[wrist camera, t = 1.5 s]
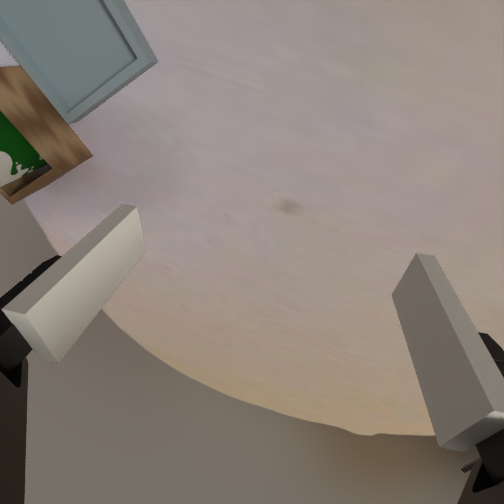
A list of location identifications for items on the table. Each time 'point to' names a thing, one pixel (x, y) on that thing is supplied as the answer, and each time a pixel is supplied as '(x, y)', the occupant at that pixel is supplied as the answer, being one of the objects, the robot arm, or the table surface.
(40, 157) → the soya milk
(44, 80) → the tray
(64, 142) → the holder
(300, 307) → the table surface
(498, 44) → the table surface
